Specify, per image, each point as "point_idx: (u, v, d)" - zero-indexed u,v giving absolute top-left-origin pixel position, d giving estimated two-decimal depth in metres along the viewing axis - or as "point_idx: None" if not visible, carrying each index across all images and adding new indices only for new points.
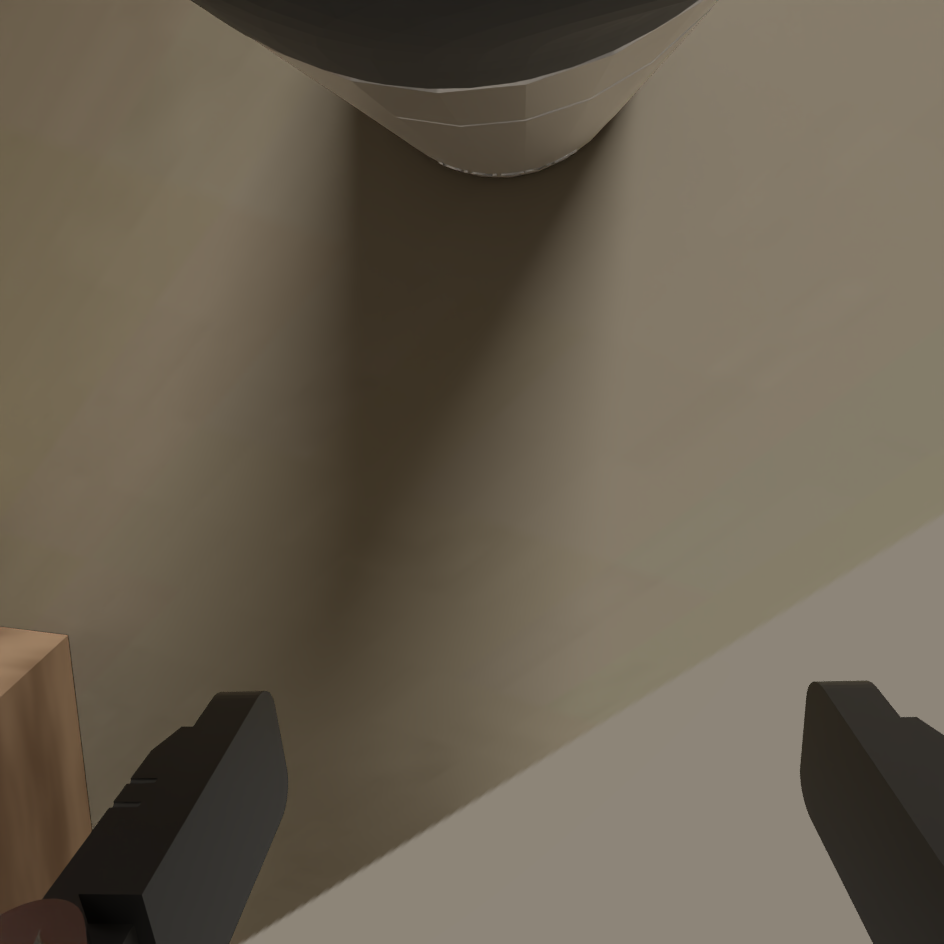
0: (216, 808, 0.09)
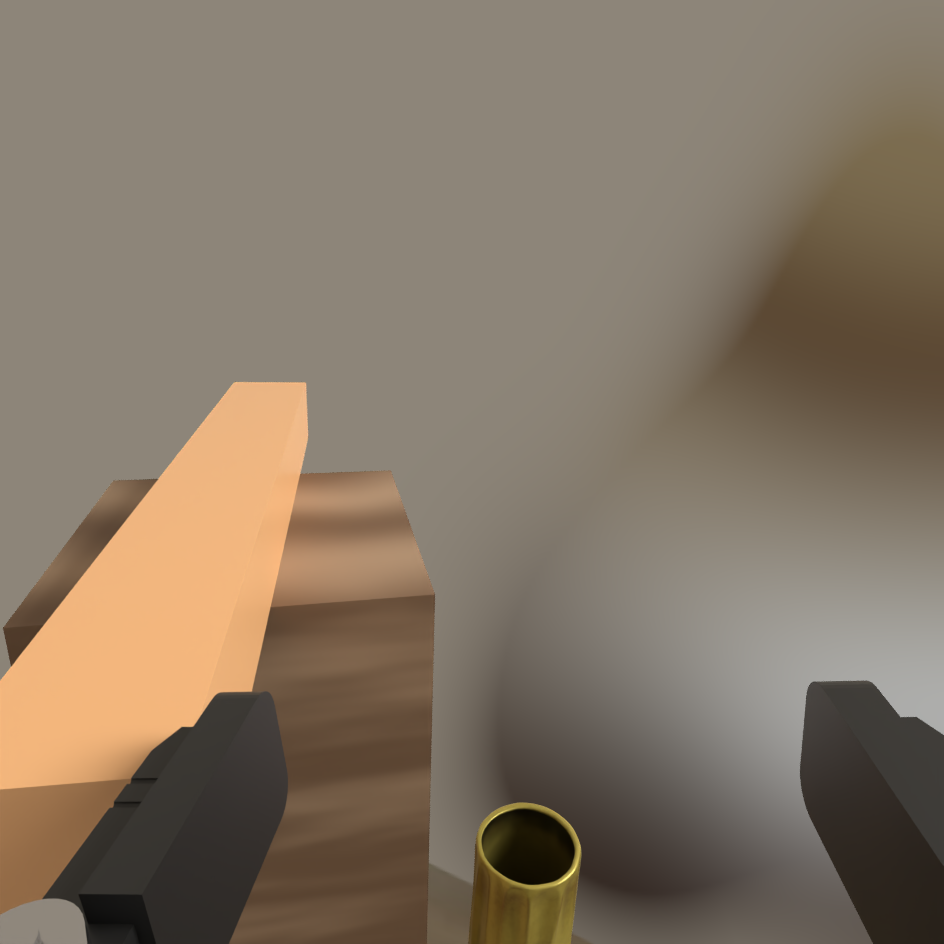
0: (216, 808, 0.09)
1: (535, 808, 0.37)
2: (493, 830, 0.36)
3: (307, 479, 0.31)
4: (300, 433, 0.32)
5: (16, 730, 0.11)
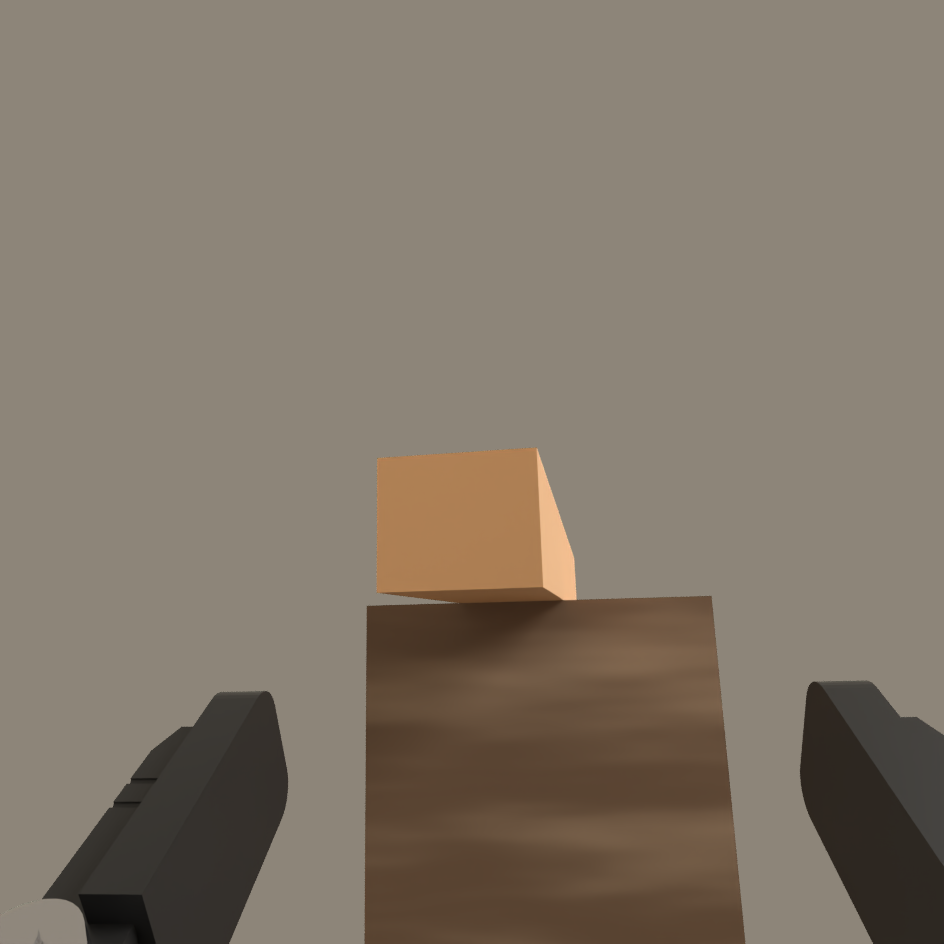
0: (216, 808, 0.09)
1: None
2: None
3: None
4: None
5: None
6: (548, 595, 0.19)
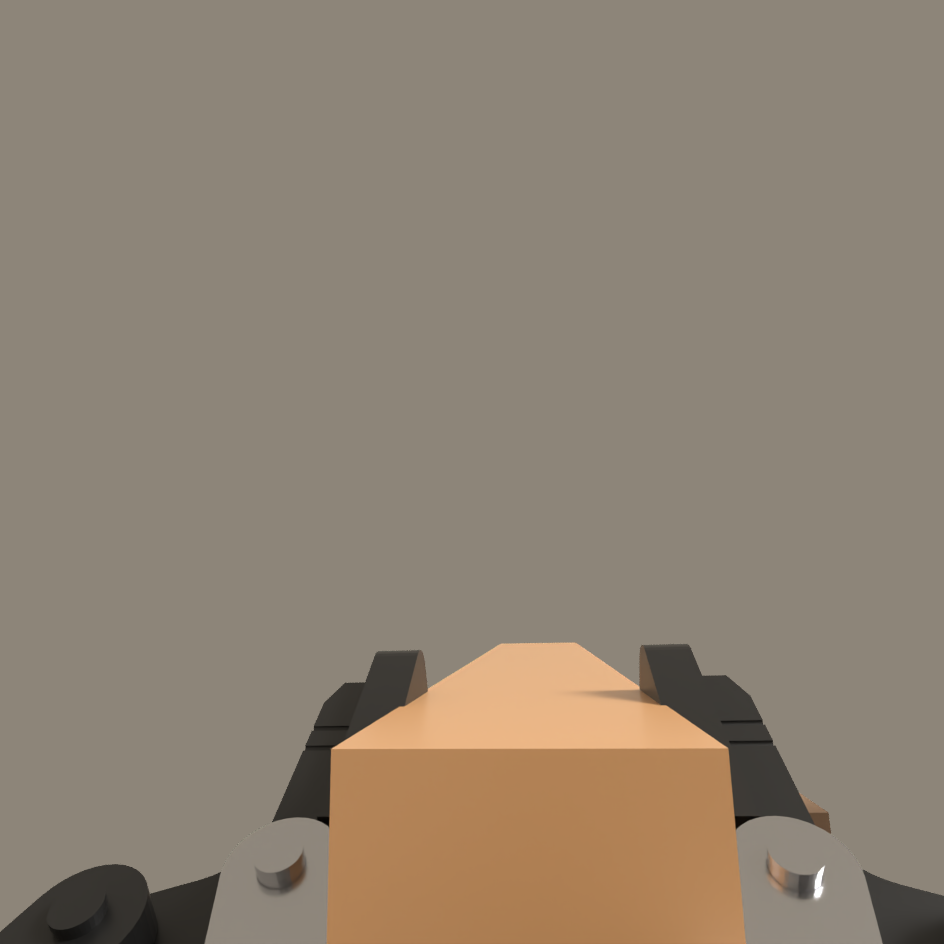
0: None
1: None
2: None
3: None
4: None
5: (439, 727, 0.08)
6: None
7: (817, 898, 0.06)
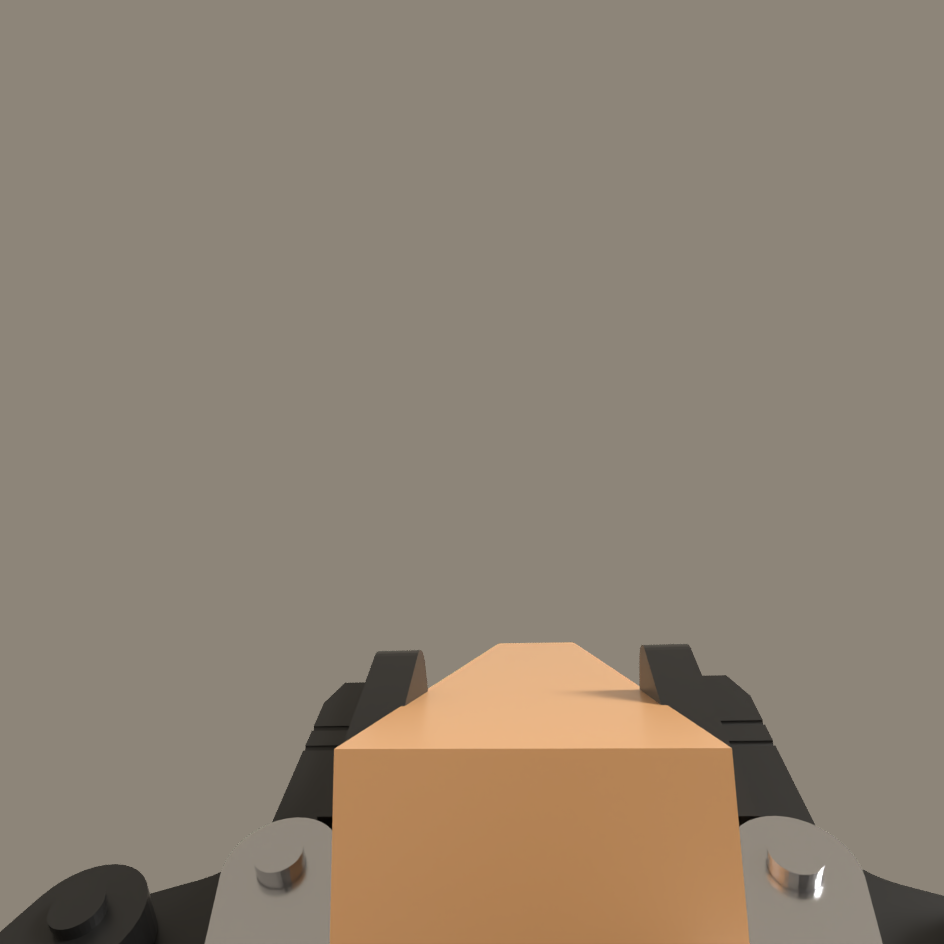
0: None
1: None
2: None
3: None
4: None
5: (441, 727, 0.08)
6: None
7: (817, 898, 0.06)
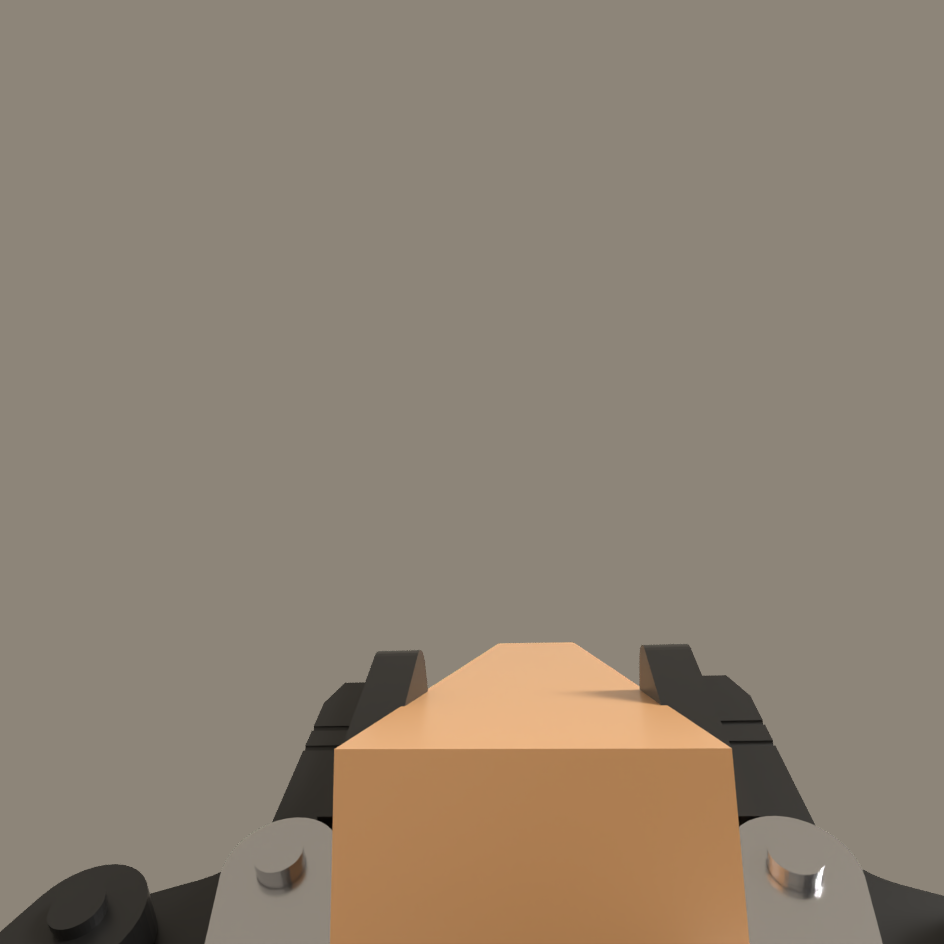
0: None
1: None
2: None
3: None
4: None
5: (441, 727, 0.08)
6: None
7: (818, 898, 0.06)
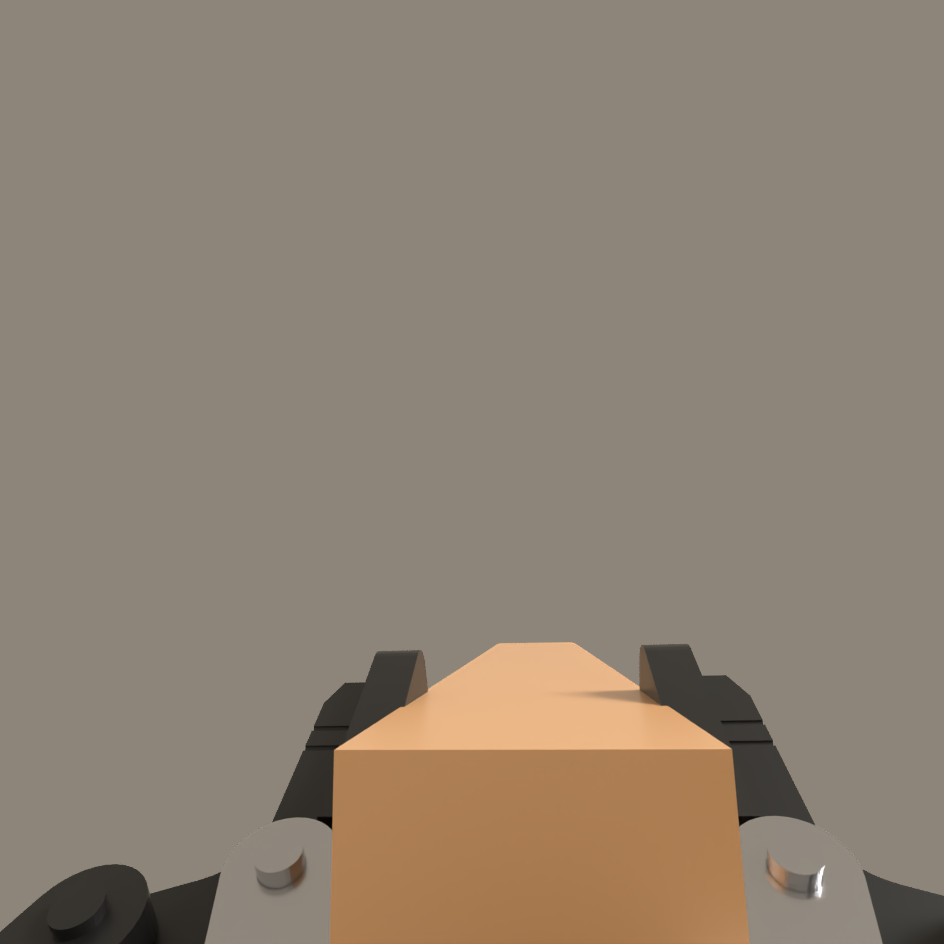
0: None
1: None
2: None
3: None
4: None
5: (441, 728, 0.08)
6: None
7: (818, 898, 0.06)
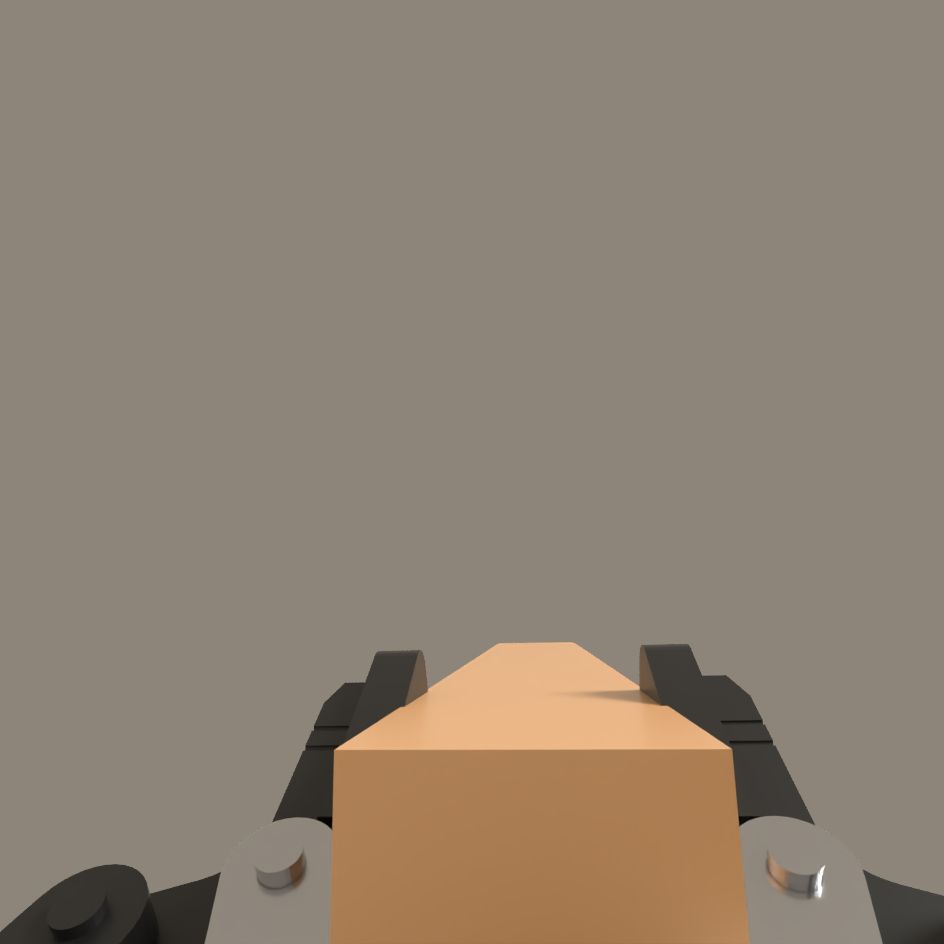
0: None
1: None
2: None
3: None
4: None
5: (441, 728, 0.08)
6: None
7: (818, 898, 0.06)
